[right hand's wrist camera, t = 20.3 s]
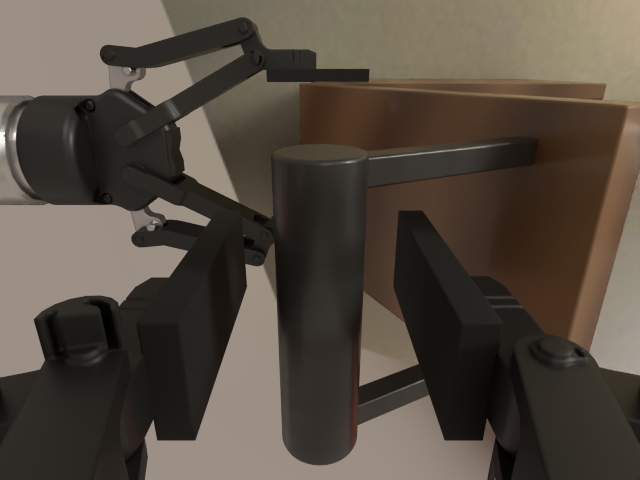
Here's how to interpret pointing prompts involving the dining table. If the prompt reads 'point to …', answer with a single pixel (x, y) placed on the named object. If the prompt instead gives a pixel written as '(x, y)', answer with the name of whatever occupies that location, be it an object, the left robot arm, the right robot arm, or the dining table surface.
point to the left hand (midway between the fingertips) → (363, 151)
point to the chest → (492, 86)
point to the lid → (448, 219)
